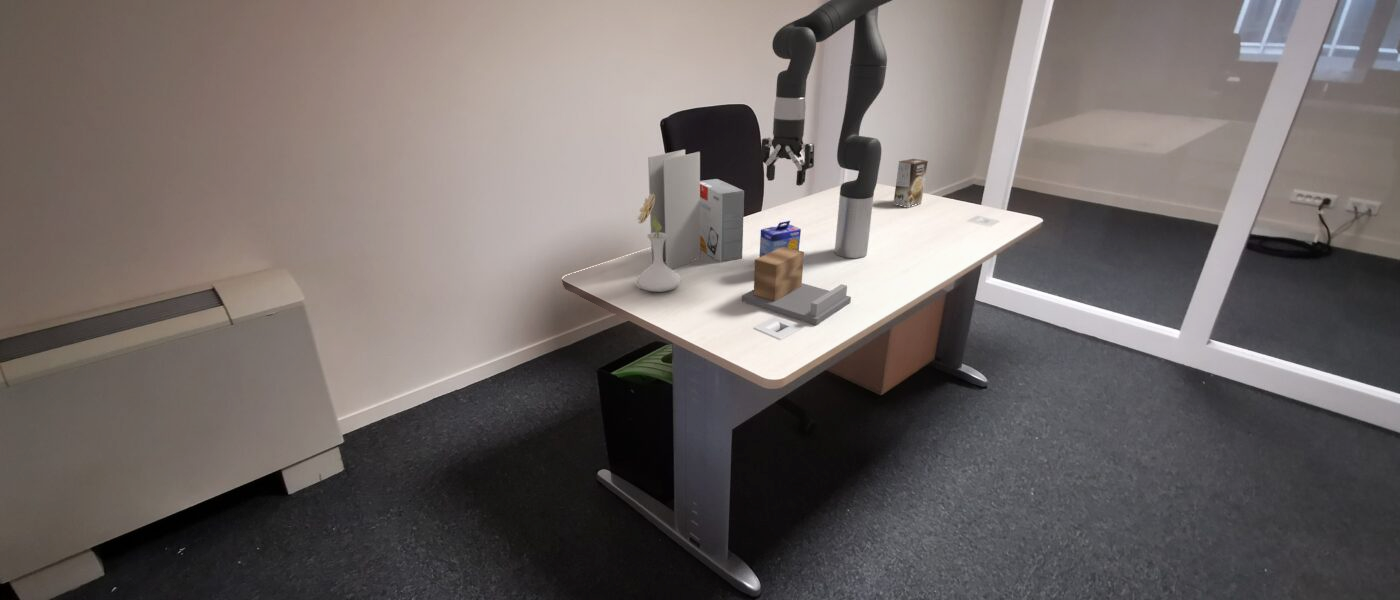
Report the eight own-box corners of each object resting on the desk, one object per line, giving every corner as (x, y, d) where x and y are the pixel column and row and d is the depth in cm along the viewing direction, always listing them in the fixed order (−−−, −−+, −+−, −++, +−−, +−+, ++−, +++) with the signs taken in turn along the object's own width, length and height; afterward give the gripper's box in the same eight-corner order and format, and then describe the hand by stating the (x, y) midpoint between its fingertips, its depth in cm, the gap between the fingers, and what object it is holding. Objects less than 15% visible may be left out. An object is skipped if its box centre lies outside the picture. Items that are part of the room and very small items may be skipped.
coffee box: (907, 208, 225) (913, 164, 219) (892, 204, 230) (898, 161, 223) (921, 204, 230) (928, 160, 224) (906, 200, 235) (912, 157, 228)
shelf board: (778, 281, 161) (779, 265, 159) (850, 302, 149) (852, 285, 147) (741, 301, 150) (742, 284, 148) (816, 325, 138) (818, 306, 136)
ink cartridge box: (769, 278, 163) (772, 225, 157) (757, 272, 167) (759, 220, 162) (799, 271, 168) (802, 219, 162) (786, 265, 172) (788, 214, 166)
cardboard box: (781, 280, 158) (782, 246, 154) (801, 286, 154) (803, 251, 151) (753, 294, 149) (754, 259, 146) (774, 301, 146) (776, 265, 142)
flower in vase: (642, 277, 164) (639, 183, 154) (685, 280, 162) (684, 185, 152) (629, 297, 152) (624, 197, 142) (675, 300, 150) (673, 199, 140)
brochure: (685, 253, 181) (684, 149, 169) (700, 257, 178) (700, 151, 166) (651, 267, 171) (648, 157, 159) (666, 271, 168) (664, 160, 156)
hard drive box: (695, 246, 187) (694, 181, 179) (717, 243, 190) (718, 178, 182) (720, 263, 174) (720, 192, 166) (743, 258, 177) (745, 189, 169)
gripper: (822, 117, 150) (817, 184, 156) (773, 112, 158) (769, 176, 165) (806, 120, 145) (801, 189, 151) (756, 115, 153) (753, 180, 159)
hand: (784, 182), depth 158 cm, fingers open, 8 cm apart
